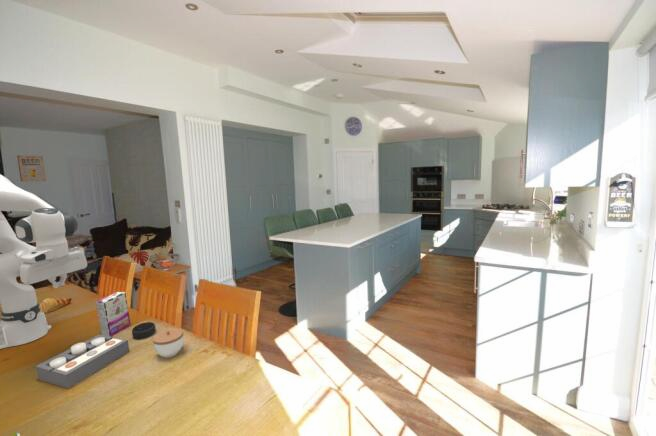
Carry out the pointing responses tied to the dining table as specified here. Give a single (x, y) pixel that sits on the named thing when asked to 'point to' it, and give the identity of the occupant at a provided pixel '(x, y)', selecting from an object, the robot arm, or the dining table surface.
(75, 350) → the button
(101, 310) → the candy bar box
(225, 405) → the dining table surface
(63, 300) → the croissant
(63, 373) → the button board
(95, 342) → the button
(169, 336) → the lidded jar
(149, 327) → the smart speaker
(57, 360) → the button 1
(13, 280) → the robot arm
